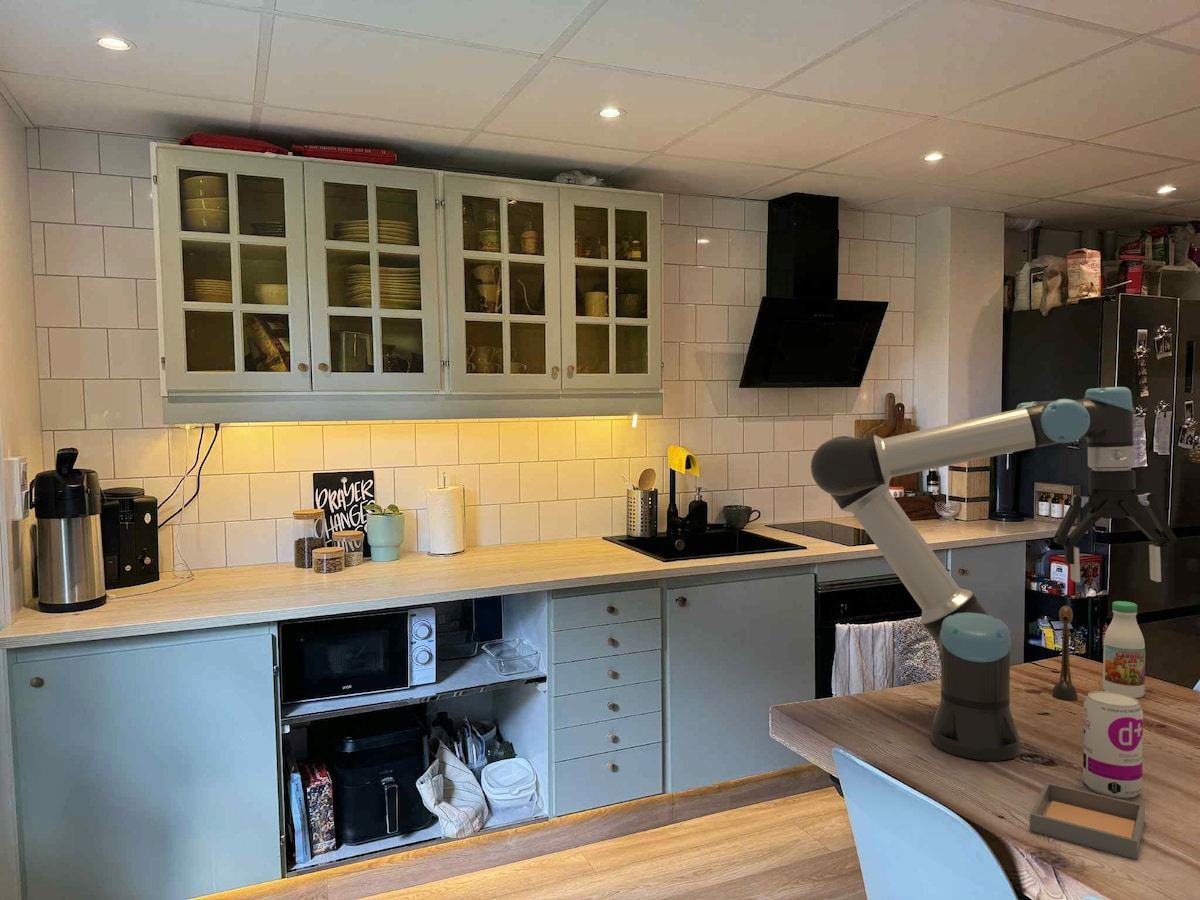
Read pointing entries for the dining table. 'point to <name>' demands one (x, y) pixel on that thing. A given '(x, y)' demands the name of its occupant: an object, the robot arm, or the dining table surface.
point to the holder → (1089, 819)
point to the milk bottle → (1124, 652)
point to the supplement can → (1113, 744)
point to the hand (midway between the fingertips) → (1115, 580)
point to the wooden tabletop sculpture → (1065, 661)
